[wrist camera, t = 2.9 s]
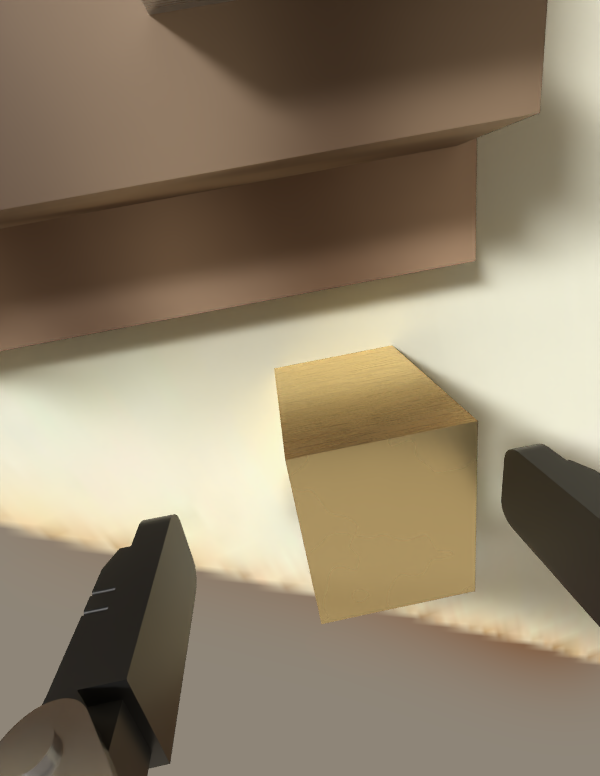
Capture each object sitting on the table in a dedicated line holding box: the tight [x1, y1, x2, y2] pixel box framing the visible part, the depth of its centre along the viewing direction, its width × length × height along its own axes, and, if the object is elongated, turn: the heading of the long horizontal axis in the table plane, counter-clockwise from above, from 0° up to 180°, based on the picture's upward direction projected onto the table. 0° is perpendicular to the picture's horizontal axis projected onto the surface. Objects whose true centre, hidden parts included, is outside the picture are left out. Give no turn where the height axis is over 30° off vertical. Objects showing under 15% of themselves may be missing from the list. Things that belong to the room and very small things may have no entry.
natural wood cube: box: [274, 346, 478, 624], centre depth 11 cm, size 5×4×6 cm
